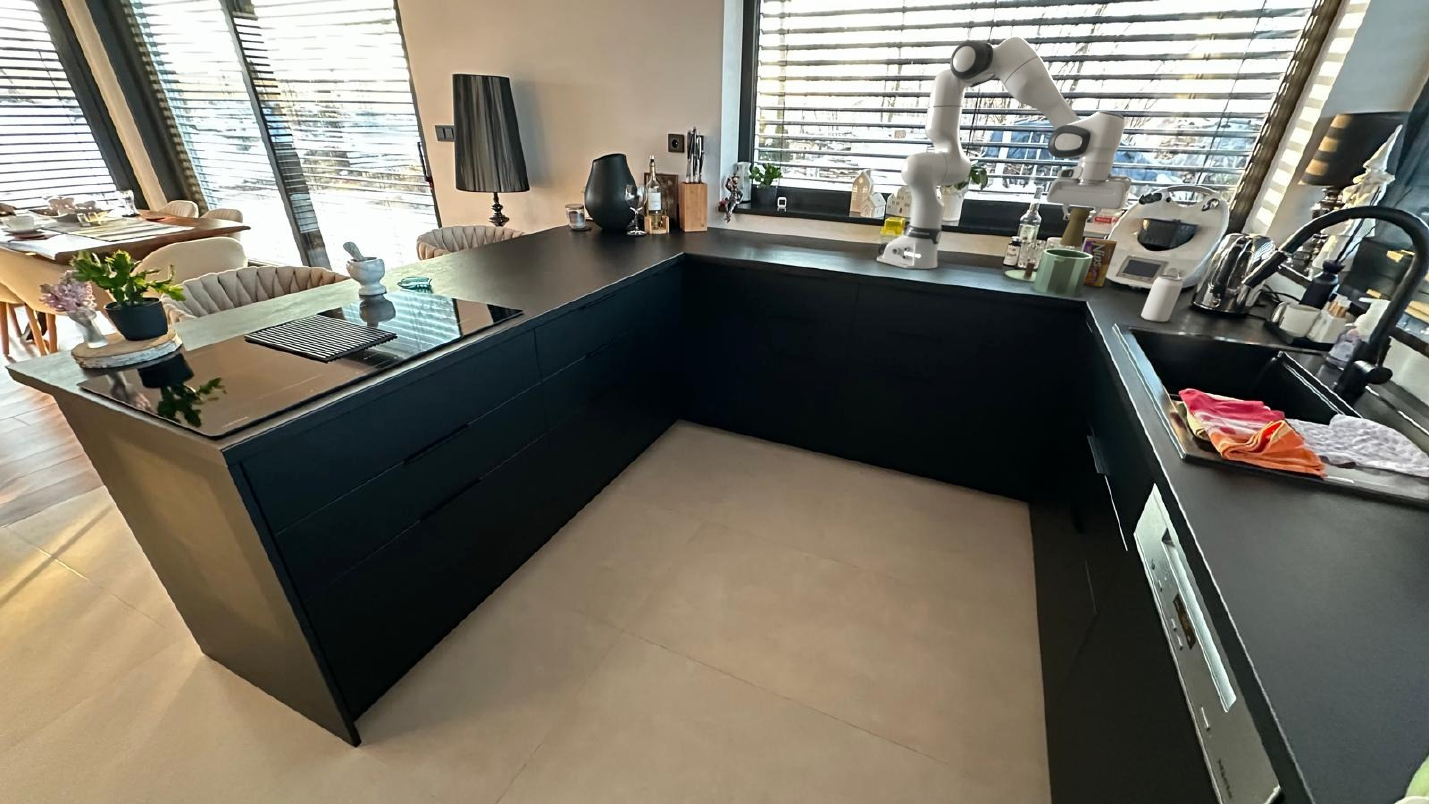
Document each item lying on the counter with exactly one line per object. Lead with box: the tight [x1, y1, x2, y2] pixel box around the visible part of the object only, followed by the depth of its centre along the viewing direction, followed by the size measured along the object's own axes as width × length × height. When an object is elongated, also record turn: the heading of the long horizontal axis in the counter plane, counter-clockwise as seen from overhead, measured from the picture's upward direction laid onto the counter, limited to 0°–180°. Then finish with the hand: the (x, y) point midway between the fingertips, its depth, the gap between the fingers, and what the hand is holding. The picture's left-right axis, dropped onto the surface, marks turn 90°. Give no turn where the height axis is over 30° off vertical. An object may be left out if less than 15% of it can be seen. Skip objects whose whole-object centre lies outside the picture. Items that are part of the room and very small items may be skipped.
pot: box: [1032, 248, 1093, 298], centre depth 179 cm, size 14×19×12 cm
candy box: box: [1080, 237, 1118, 287], centre depth 187 cm, size 9×4×15 cm, turn 65°
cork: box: [1059, 207, 1091, 248], centre depth 172 cm, size 6×6×11 cm
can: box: [1140, 274, 1184, 323], centre depth 156 cm, size 6×6×12 cm
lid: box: [1004, 261, 1037, 283], centre depth 195 cm, size 15×15×6 cm
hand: (1077, 221), depth 171 cm, fingers closed on cork, 5 cm apart
